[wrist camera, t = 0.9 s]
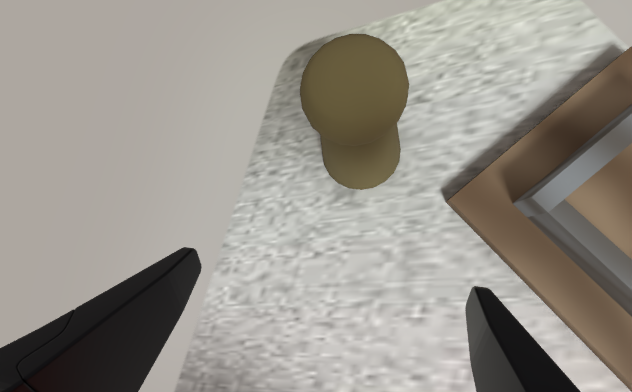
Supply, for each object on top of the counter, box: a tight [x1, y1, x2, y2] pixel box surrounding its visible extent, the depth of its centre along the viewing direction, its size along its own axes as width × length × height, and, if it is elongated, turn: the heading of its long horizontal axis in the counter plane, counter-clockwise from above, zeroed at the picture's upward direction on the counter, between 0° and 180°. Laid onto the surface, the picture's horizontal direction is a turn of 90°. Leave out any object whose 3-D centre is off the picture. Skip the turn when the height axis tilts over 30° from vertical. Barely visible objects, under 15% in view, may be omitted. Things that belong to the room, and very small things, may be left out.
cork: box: [300, 34, 409, 190], centre depth 19 cm, size 6×6×11 cm
